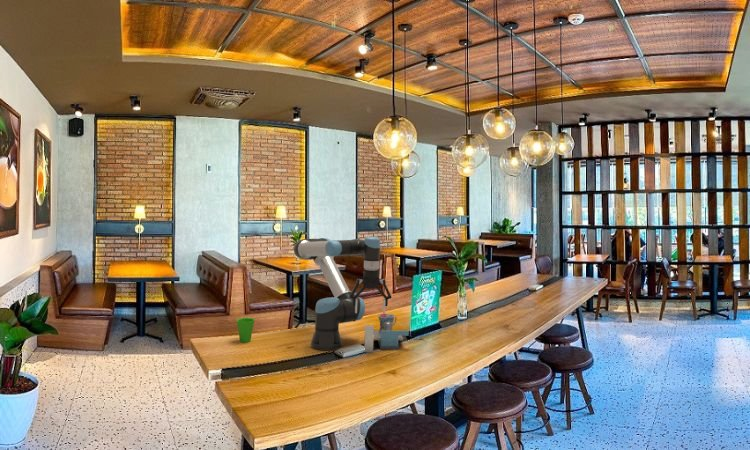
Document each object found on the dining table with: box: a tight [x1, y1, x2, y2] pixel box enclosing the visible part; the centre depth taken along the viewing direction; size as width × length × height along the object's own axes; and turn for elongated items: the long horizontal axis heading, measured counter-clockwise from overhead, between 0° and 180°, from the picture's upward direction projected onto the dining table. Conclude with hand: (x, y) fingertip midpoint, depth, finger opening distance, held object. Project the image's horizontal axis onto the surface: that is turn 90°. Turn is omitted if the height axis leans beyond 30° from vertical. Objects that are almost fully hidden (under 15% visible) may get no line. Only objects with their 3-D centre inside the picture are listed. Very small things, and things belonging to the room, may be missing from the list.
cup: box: [236, 317, 256, 344], centre depth 238 cm, size 9×9×11 cm
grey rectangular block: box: [363, 324, 375, 353], centre depth 229 cm, size 4×4×12 cm
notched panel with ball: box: [373, 322, 410, 351], centre depth 240 cm, size 16×16×11 cm
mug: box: [377, 313, 397, 330], centre depth 259 cm, size 12×9×11 cm
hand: (370, 312), depth 229 cm, fingers open, 13 cm apart
